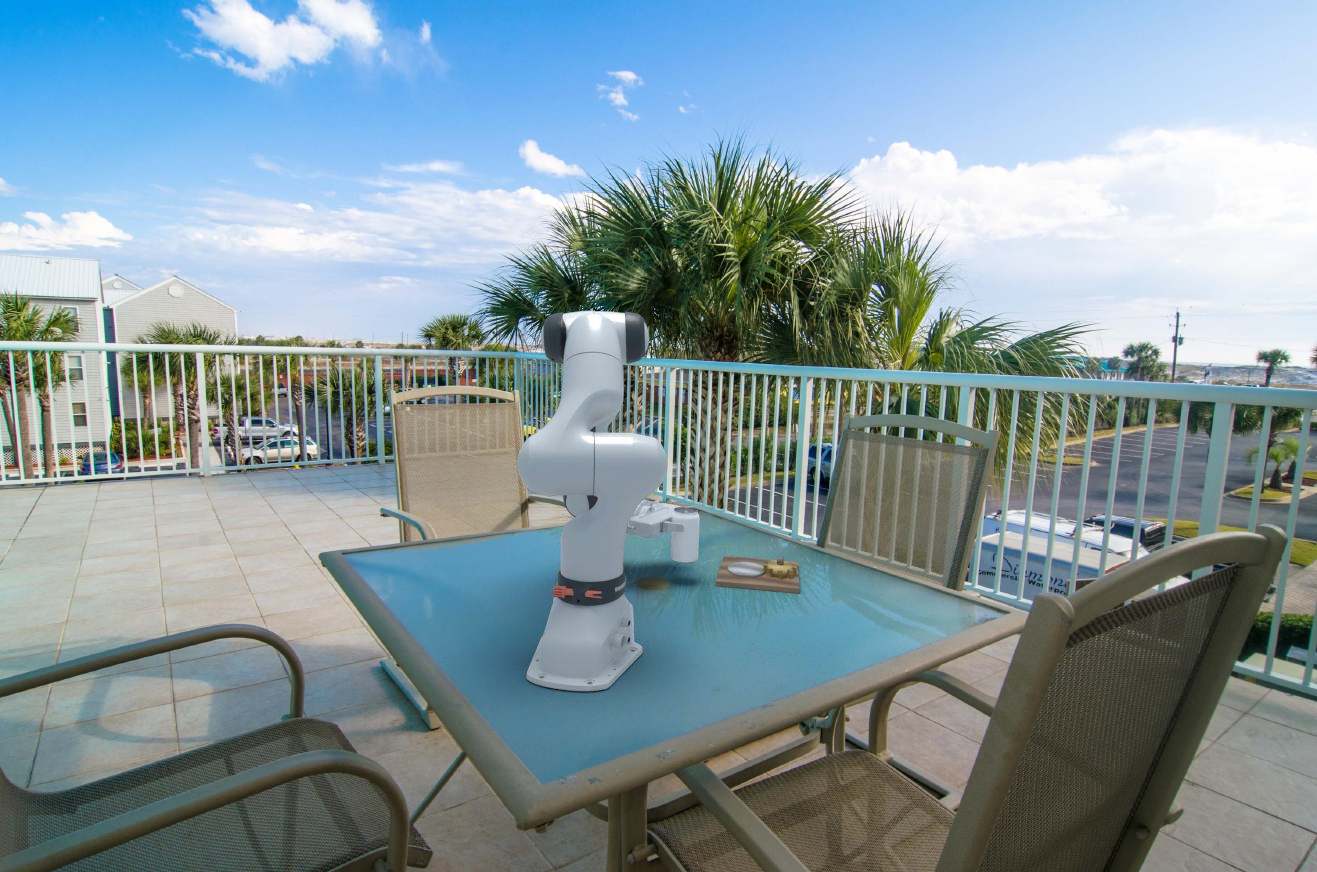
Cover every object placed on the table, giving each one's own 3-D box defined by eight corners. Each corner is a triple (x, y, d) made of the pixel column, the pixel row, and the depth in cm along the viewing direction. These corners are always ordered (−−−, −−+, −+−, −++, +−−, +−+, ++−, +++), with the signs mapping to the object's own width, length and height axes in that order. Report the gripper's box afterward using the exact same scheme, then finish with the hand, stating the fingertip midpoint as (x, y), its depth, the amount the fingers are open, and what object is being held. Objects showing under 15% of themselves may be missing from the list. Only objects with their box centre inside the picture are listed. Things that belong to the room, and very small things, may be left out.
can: (700, 557, 154) (702, 507, 152) (695, 564, 147) (697, 513, 146) (673, 554, 155) (675, 505, 154) (667, 562, 149) (669, 511, 148)
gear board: (799, 593, 146) (800, 569, 145) (715, 585, 149) (716, 562, 149) (797, 566, 165) (798, 545, 165) (723, 560, 169) (724, 539, 168)
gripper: (616, 512, 147) (672, 520, 141) (656, 498, 165) (706, 504, 159) (616, 539, 147) (671, 548, 141) (655, 522, 166) (705, 529, 160)
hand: (690, 525), depth 150 cm, fingers closed on can, 5 cm apart
